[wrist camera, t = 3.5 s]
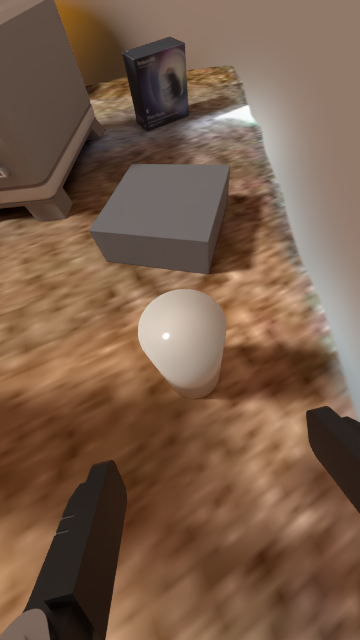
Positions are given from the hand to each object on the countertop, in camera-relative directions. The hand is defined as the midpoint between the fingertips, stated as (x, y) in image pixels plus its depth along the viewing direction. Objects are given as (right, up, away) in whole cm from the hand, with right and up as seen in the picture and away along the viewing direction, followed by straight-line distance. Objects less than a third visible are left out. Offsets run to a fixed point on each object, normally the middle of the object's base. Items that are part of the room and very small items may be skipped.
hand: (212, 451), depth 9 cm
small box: (-5, +50, +40) cm, 65 cm away
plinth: (-3, +18, +22) cm, 29 cm away
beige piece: (0, 0, +12) cm, 12 cm away
